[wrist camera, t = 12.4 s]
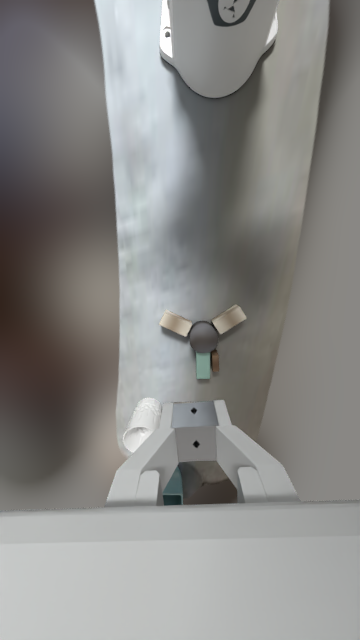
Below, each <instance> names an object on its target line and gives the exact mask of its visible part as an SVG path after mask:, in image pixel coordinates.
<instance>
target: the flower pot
mask: <svg viewBox="0 0 360 640" xmlns="http://www.w3.org/2000/svg"><path fill="white" fill-rule="evenodd" d="M162 494H163V501H164V506H169V505H183V489H182V476H181V472H180V469H179V468H178V466H177V467H176V469H175V471H174V473H173V474H172V476H171V478H170V480H169V482H168V484H167V485H166V487H165V489H164V491H163V493H162Z"/></svg>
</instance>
